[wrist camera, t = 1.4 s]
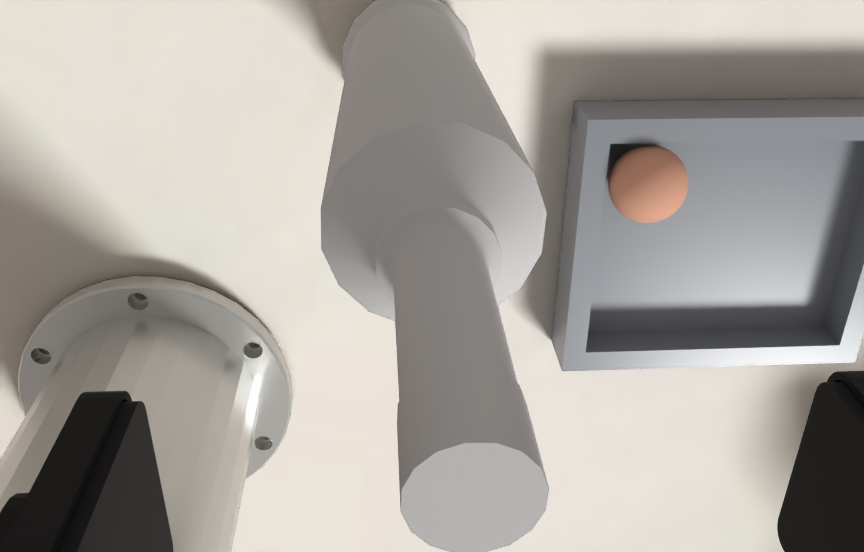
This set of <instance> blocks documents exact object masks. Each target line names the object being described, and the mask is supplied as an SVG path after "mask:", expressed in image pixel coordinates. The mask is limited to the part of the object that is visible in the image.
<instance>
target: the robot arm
mask: <svg viewBox="0 0 864 552" xmlns="http://www.w3.org/2000/svg"><path fill="white" fill-rule="evenodd" d="M139 293H140V294H139ZM141 294H143V295H141ZM18 391H19V397H20V401H21V404H22V408H23V411H24V415H25V416H26V417H25V418H24V420H23V422H22V423H21V425H20V427H19V428H18V430H17V432H16V434H15V435H14V437H13V439H12V440H11V442H10V444H9V445H8V447H7V449H6V451H5V452H4V454H3V456H2V457H1V459H0V552H231V550H232V545H233V540H234V535H235V530H236V525H237V519H238V514H239V509H240V504H241V499H242V494H243V489H244V483H245V480H246V479H247V478H248V477H250V476H251V475H252V474H254V473H255V472H256V471H258V470H259V469H260V468H262V467H263V466H264V465H265V463H266V462H267V461H268V460H269V459H270V458H271V457H272V456H273V454H274V453H275V452H276V451H277V449H278V447H279V445H280V443H281V442H282V440H283V438H284V436H285V434H286V430H287V427H288V423H289V419H290V415H291V406H292V398H293V394H292V383H291V375H290V372H289V369H288V366H287V363H286V360H285V357H284V355H283V353H282V351H281V350H280V348H279V346H278V345H277V343H276V341H275V339H274V338H273V336H272V335H271V334H270V333H269V332H268V331H267V330H266V328H265V327H264V326H263V325H262V324H261V323H260V322H259V321H258V319H257V318H255V317H254V316H253V315H251V314H250V313H249V312H248V311H246V310H245V309H244V308H242V307H241V306H240V305H239V304H237V303H236V302H234V301H232V300H230V299H228V298H226V297H225V296H223V295H221V294H219V293H217V292H215V291H213V290H210V289H208V288H205V287H202V286H199V285H196V284H193V283H190V282H187V281H182V280H176V279H171V278H165V277H150V276H131V277H124V278H118V279H111V280H106V281H103V282H100V283H97V284H94V285H91V286H88V287H85V288H82V289H81V290H79V291H77V292H75V293H74V294H72V295H70V296H68V297H67V298H65V299H63V300H62V301H60V302H59V303H58V304H57V305H56V306H55V307H54V308H53V309H52V310H51V311H50V312H48V313H47V314H46V315H45V316H44V318H43V319H42V321H41V322H40V323H39V325H38V326H37V328H36V329H35V330H34V332H33V333H32V335H31V336H30V338H29V340H28V342H27V344H26V346H25V347H24V350H23V352H22V356H21V361H20V365H19V370H18ZM778 536H779V540H780V543H781V546H782V548H783V550H784V551H785V552H864V371H844V372H835V373H833V374H832V375H831V376H830V377H829V379H828V381H827V382H824V383H821V384H820V385H819V386H818V387H817V390H816V392H815V396H814V399H813V403H812V406H811V409H810V413H809V416H808V420H807V423H806V426H805V430H804V433H803V437H802V440H801V443H800V447H799V450H798V454H797V457H796V460H795V464H794V467H793V471H792V474H791V477H790V481H789V484H788V488H787V491H786V494H785V498H784V501H783V505H782V508H781V511H780V515H779V518H778Z"/></svg>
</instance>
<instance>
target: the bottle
mask: <svg viewBox="0 0 864 552" xmlns="http://www.w3.org/2000/svg"><path fill="white" fill-rule="evenodd" d="M342 76H343V79H344V86H343V91H342V97H341V102H340V108H339V113H338V118H337V124H336V129H335V135H334V140H333V145H332V151H331V156H330V162H329V167H328V173H327V178H326V183H325V189H324V194H323V200H322V205H321V249H322V251H323V253H324V255H325V257H326V260H327V262H328V264H329V266H330V268H331V270H332V272H333V274H334V276H335V278H336V280H337V283H338V285H339V286H340V287H341V288H343V289H344V290H345V291H346V292H347V293H348V294H349V295H351V296H352V297H353V298H354V299H355V300H356V301H357V302H359V303H360V304H361V305H362V306H363V307H364V308H365V309H367V310H368V311H369V312H371V313H374V314H377V315H379V316H382V317H385V318H388V319H390V320H393V321H395V326H396V345H397V364H398V383H399V403H398V415H397V433H398V458H399V482H400V506H401V513H402V515H403V517H404V519H405V521H406V523H407V525H408V527H409V529H410V531H411V532H412V533H414V534H415V535H416V536H418V537H419V538H420V539H422V540H423V541H424V542H426V543H427V544H428V545H430V546H433V547H436V548H440V549H443V550H446V551H450V552H488V551H491V550H494V549H498V548H501V547H504V546H508V545H510V544H512V543H513V542H515V541H516V540H518V539H519V538H521V537H522V536H524V535H525V534H527V533H528V532H530V531H531V530H532V529H533V528H534V526H535V525H536V523H537V522H538V521H539V519H540V518H541V516H542V515H543V513H544V512H545V511H546V505H547V498H548V492H549V487H548V483H547V479H546V476H545V472H544V468H543V464H542V461H541V457H540V453H539V449H538V446H537V442H536V438H535V434H534V431H533V427H532V423H531V419H530V416H529V412H528V408H527V404H526V402H525V399H524V396H523V394H522V391H521V388H520V386H519V384H518V383H517V379H516V375H515V372H514V368H513V364H512V360H511V356H510V352H509V348H508V344H507V340H506V336H505V332H504V328H503V324H502V320H501V316H500V312H499V308H498V305H500V304H501V303H502V302H503V301H505V300H506V299H507V298H509V297H510V296H511V295H512V294H514V293H515V292H516V291H517V290H519V289H520V288H521V287H522V285H523V284H524V282H525V280H526V279H527V277H528V275H529V274H530V272H531V270H532V268H533V267H534V265H535V263H536V262H537V260H538V258H539V257H540V255H541V253H542V247H543V240H544V232H545V224H546V216H547V212H546V209H545V205H544V202H543V199H542V196H541V193H540V189H539V186H538V183H537V180H536V177H535V174H534V172H533V170H532V168H531V166H530V164H529V162H528V160H527V159H526V157H525V155H524V153H523V151H522V149H521V147H520V145H519V143H518V141H517V140H516V138H515V136H514V134H513V132H512V130H511V128H510V126H509V124H508V122H507V121H506V119H505V117H504V115H503V113H502V111H501V109H500V107H499V105H498V103H497V102H496V100H495V98H494V96H493V94H492V92H491V90H490V88H489V86H488V84H487V83H486V81H485V79H484V77H483V75H482V73H481V71H480V69H479V67H478V65H477V64H476V62H475V52H474V49H473V45H472V42H471V39H470V36H469V33H468V30H467V28H466V26H465V25H464V24H463V23H462V21H461V20H460V19H459V18H458V17H457V16H456V15H455V13H454V12H453V11H452V10H451V9H450V8H449V6H448V5H446V4H444V3H442V2H440V1H438V0H376V1H373V2H372V3H371V4H370V5H369V6H368V7H367V8H366V9H365V10H364V11H363V12H362V13H361V14H360V15H359V16H358V17H357V18H356V19H355V20H354V21H353V23H352V26H351V28H350V31H349V33H348V35H347V38H346V40H345V43H344V45H343V49H342Z"/></svg>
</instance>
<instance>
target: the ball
mask: <svg viewBox="0 0 864 552" xmlns="http://www.w3.org/2000/svg"><path fill="white" fill-rule="evenodd" d="M608 189H609V195H610V198H611V200H612V203H613V204H614V206H615V207H616V208H617V210H618V211H619V212H620V213H621V214H622V215H624V216H625V217H627V218H629V219H631V220H633V221H636V222H641V223H654V222H658V221H662V220H664V219H666V218H668V217H670V216H671V215H672V214H674V213H675V212H676V211H677V210H678V209H679V208H680V207H681V205H682V204H683V202H684V200H685V198H686V195H687V191H688V174H687V171H686V168H685V166H684V164H683V162H682V161H681V160H680V158H679V157H678V156H677V155H676V154H674V153H673V152H672V151H670V150H668V149H666V148H664V147H661V146H657V145H642V146H638V147H635V148H633V149H630V150H629V151H627V152H625V153H624V154H623V155H622V156H621V157H620V158H619V159H618V160H617V161H616V162H615V164H614V165H613V167H612V169H611V172H610V175H609V180H608Z"/></svg>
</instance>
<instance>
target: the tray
mask: <svg viewBox="0 0 864 552" xmlns="http://www.w3.org/2000/svg"><path fill="white" fill-rule="evenodd" d="M642 145H657V146H661V147H664V148H666V149H668V150H670V151H672V152H673V153H674V154H676V155H677V156H678V157H679V158H680V160H681V161H682V162H683V164H684V166H685V168H686V171H687V174H688V191H687V195H686V198H685V200H684V202H683V204H682V205H681V207H680V208H679V209H678V210H677V211H676V212H675V213H674V214H672V215H671V216H670V217H668V218H666V219H664V220H662V221H658V222H654V223H641V222H636V221H633V220H631V219H629V218H627V217H625V216H624V215H622V214H621V213H620V212H619V211H618V210H617V208H616V207H615V206H614V204H613V203H612V200H611V198H610V195H609V189H608V180H609V175H610V172H611V169H612V167H613V165H614V164H615V162H616V161H617V160H618V159H619V158H620V157H621V156H622V155H623V154H624V153H625V152H627V151H629V150H630V149H633V148H635V147H638V146H642ZM863 335H864V98H841V99H738V100H635V101H574V111H573V122H572V133H571V143H570V154H569V165H568V175H567V186H566V196H565V207H564V218H563V228H562V239H561V249H560V260H559V271H558V281H557V292H556V302H555V313H554V324H553V334H552V343H553V346H554V349H555V352H556V355H557V358H558V361H559V364H560V366H561V369H562V371H583V370H617V369H651V368H685V367H719V366H753V365H786V364H820V363H854V362H855V361H856V358H857V354H858V351H859V348H860V345H861V342H862V338H863Z"/></svg>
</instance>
